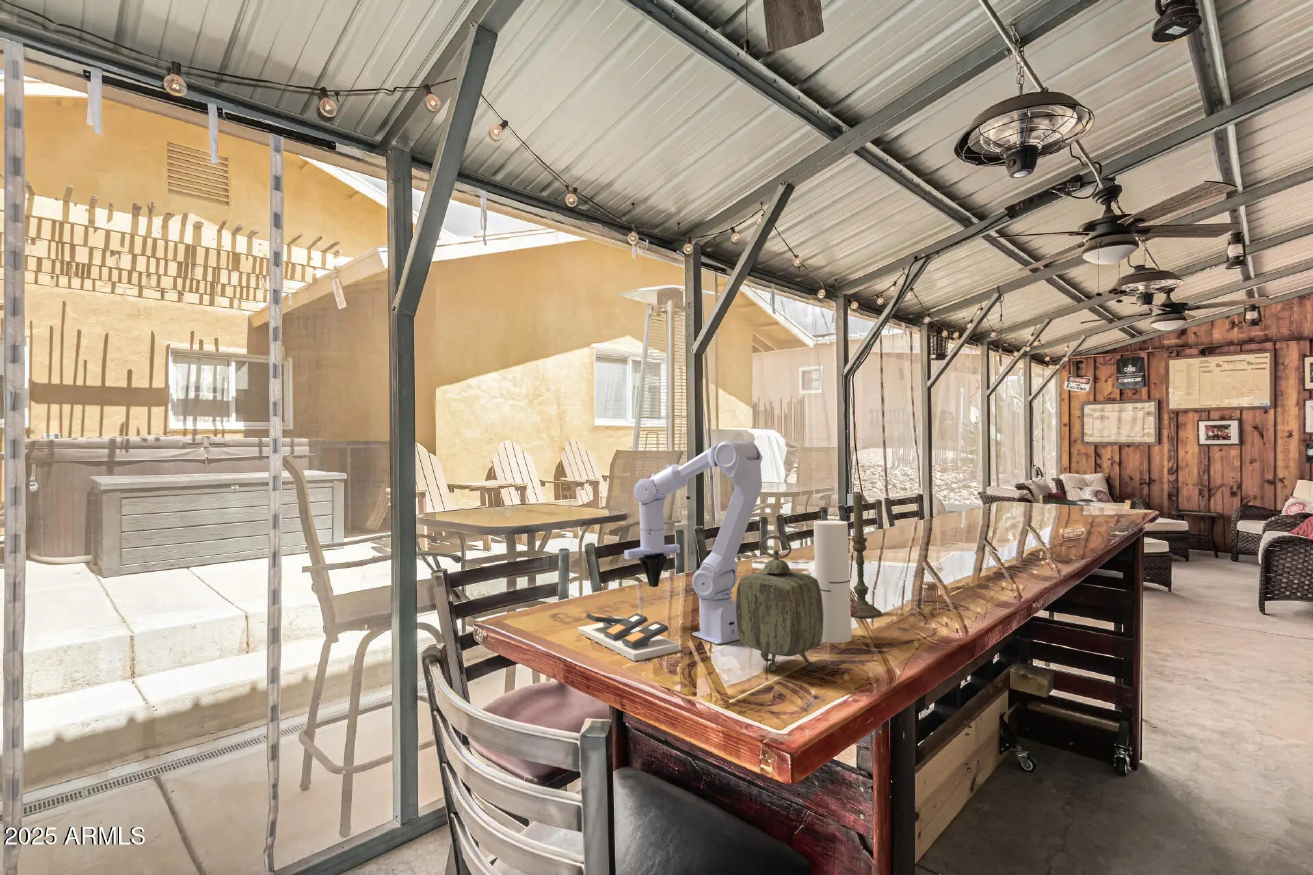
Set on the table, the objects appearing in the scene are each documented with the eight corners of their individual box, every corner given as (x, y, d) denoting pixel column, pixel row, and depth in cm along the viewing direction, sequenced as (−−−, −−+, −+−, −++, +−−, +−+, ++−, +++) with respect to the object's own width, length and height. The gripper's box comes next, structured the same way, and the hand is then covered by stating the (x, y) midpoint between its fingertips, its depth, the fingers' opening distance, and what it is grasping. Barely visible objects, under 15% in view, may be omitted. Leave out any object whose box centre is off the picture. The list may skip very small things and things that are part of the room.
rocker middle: (648, 620, 144) (646, 616, 144) (614, 640, 139) (612, 635, 139) (637, 616, 148) (636, 612, 147) (604, 635, 143) (602, 631, 143)
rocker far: (629, 624, 150) (630, 619, 151) (595, 621, 146) (596, 616, 146) (619, 620, 154) (620, 616, 154) (586, 617, 149) (587, 612, 150)
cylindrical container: (853, 643, 137) (848, 524, 138) (818, 642, 139) (814, 524, 139) (850, 633, 144) (846, 520, 145) (816, 633, 146) (812, 520, 146)
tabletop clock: (825, 671, 121) (820, 535, 122) (797, 684, 115) (792, 541, 115) (762, 654, 132) (758, 530, 132) (733, 666, 125) (729, 535, 126)
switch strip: (679, 650, 136) (679, 638, 136) (633, 661, 130) (633, 648, 130) (619, 625, 157) (619, 615, 157) (578, 633, 151) (577, 623, 151)
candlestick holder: (835, 611, 164) (831, 491, 165) (866, 607, 167) (862, 490, 168) (856, 619, 156) (852, 493, 156) (889, 615, 158) (884, 491, 159)
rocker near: (668, 630, 137) (667, 625, 137) (633, 648, 132) (631, 643, 132) (657, 625, 141) (655, 620, 141) (622, 643, 136) (621, 638, 136)
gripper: (667, 525, 163) (669, 579, 163) (617, 530, 156) (618, 587, 155) (684, 527, 158) (685, 584, 157) (632, 533, 150) (634, 592, 149)
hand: (653, 586), depth 156 cm, fingers closed
